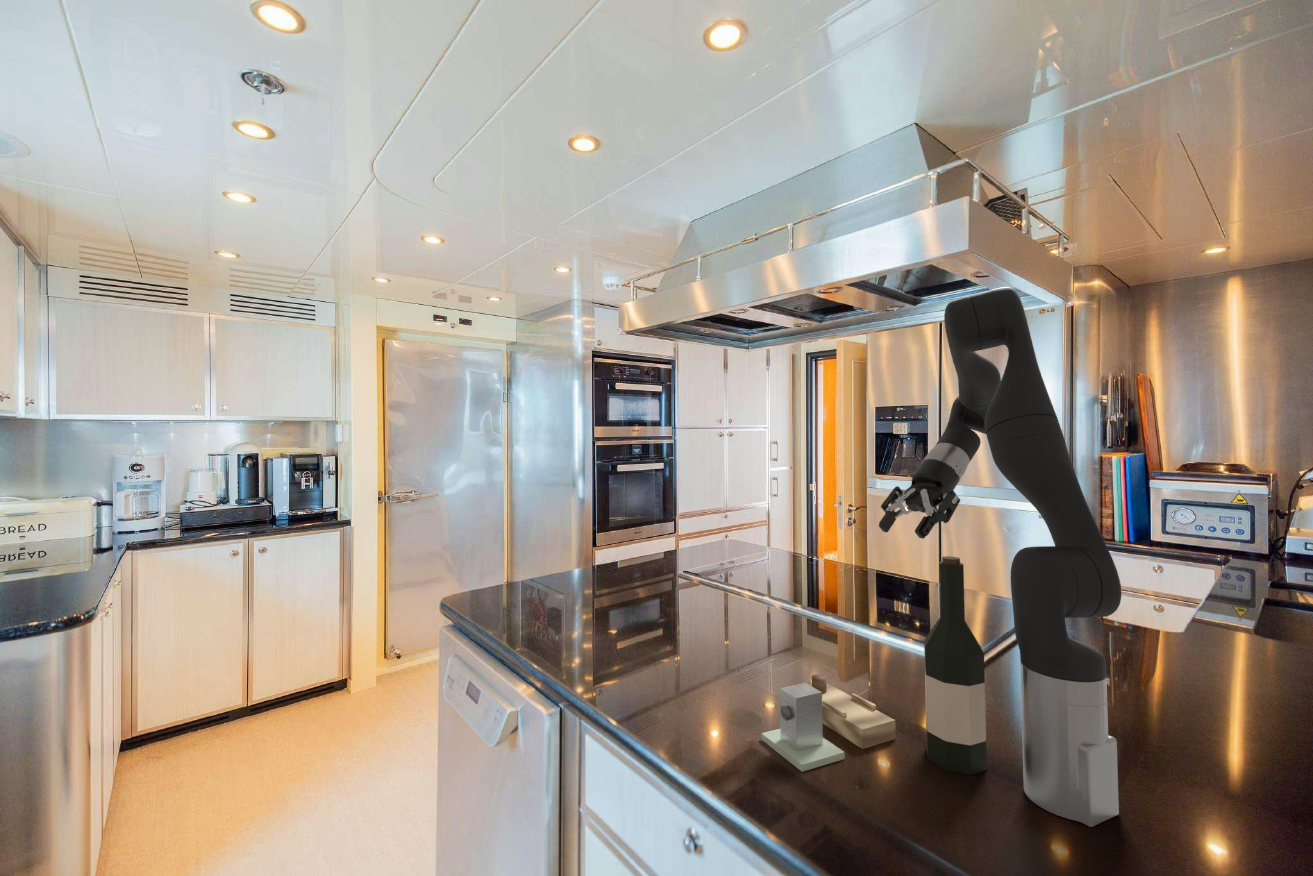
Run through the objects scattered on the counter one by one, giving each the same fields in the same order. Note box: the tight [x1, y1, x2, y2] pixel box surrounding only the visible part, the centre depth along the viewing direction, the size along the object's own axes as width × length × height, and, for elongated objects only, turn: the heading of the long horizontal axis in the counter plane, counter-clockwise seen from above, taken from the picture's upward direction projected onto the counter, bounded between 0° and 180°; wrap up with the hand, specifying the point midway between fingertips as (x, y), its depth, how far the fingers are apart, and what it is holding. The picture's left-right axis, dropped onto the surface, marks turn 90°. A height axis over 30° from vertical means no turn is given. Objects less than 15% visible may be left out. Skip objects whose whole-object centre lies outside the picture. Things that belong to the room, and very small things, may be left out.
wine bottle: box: [923, 555, 988, 776], centre depth 84 cm, size 8×8×30 cm
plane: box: [811, 673, 897, 750], centre depth 95 cm, size 16×7×5 cm, turn 24°
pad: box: [761, 728, 846, 772], centre depth 87 cm, size 10×8×1 cm
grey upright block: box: [779, 682, 824, 752], centre depth 87 cm, size 4×6×8 cm
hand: (900, 532), depth 106 cm, fingers open, 8 cm apart
